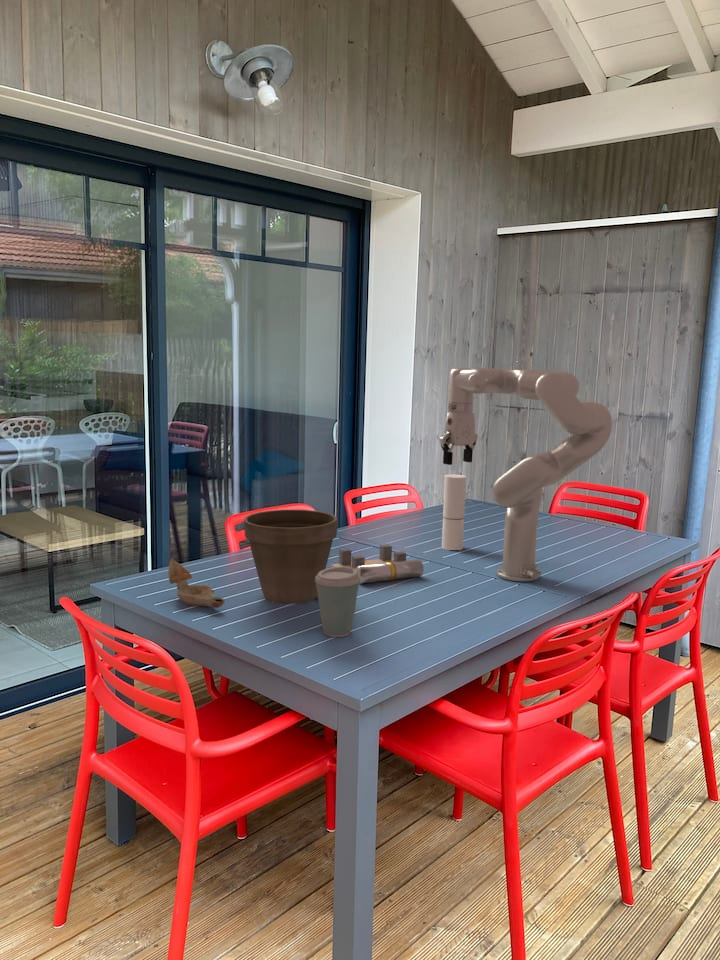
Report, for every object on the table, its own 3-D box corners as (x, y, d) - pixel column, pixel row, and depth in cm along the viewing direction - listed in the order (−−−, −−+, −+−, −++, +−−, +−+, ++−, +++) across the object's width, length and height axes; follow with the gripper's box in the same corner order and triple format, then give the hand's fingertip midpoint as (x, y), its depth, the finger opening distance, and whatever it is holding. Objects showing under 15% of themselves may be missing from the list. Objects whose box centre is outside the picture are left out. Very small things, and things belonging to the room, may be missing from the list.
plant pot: (235, 586, 215) (235, 510, 212) (319, 579, 224) (320, 506, 220) (255, 615, 192) (255, 530, 188) (348, 606, 201) (350, 524, 197)
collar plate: (412, 571, 234) (413, 552, 233) (347, 579, 224) (347, 559, 223) (394, 562, 244) (395, 543, 243) (331, 569, 234) (331, 550, 234)
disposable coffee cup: (330, 644, 174) (331, 580, 172) (305, 629, 183) (305, 568, 180) (368, 635, 180) (369, 573, 178) (342, 621, 189) (343, 562, 186)
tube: (414, 574, 231) (415, 557, 230) (423, 578, 227) (424, 561, 226) (354, 581, 222) (354, 563, 222) (362, 586, 218) (362, 568, 217)
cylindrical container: (462, 546, 267) (465, 474, 263) (463, 551, 260) (466, 478, 256) (441, 545, 267) (444, 473, 263) (441, 550, 260) (444, 477, 256)
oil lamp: (185, 591, 210) (184, 555, 209) (235, 609, 196) (235, 571, 195) (158, 598, 204) (157, 561, 202) (208, 617, 190) (208, 578, 188)
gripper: (451, 410, 230) (448, 466, 233) (487, 408, 241) (484, 462, 244) (432, 408, 235) (430, 463, 238) (468, 406, 247) (465, 459, 250)
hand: (457, 463), depth 241 cm, fingers open, 9 cm apart
